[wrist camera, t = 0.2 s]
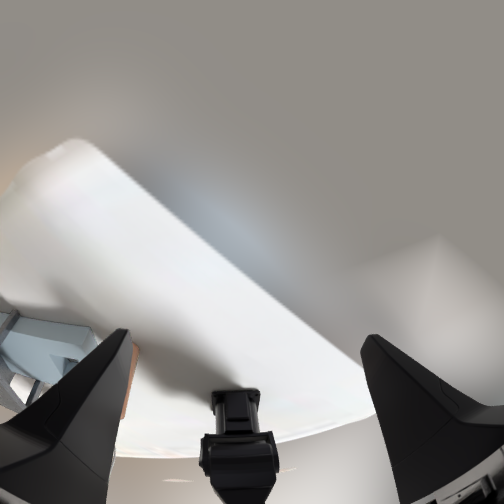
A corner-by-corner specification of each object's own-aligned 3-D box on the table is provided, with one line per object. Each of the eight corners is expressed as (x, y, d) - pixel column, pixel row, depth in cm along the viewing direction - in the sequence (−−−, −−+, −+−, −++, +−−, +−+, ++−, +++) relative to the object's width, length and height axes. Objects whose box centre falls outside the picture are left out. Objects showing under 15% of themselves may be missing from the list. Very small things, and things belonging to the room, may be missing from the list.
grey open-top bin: (49, 370, 30) (30, 418, 21) (17, 361, 29) (-4, 402, 21) (17, 310, 24) (-16, 360, 16) (-14, 304, 24) (-46, 346, 15)
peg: (142, 358, 29) (128, 421, 21) (118, 356, 29) (100, 416, 21) (136, 340, 28) (118, 406, 20) (111, 337, 27) (89, 400, 19)
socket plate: (113, 379, 31) (108, 396, 28) (18, 358, 29) (11, 371, 26) (90, 327, 26) (81, 345, 24) (-8, 310, 24) (-18, 322, 21)
